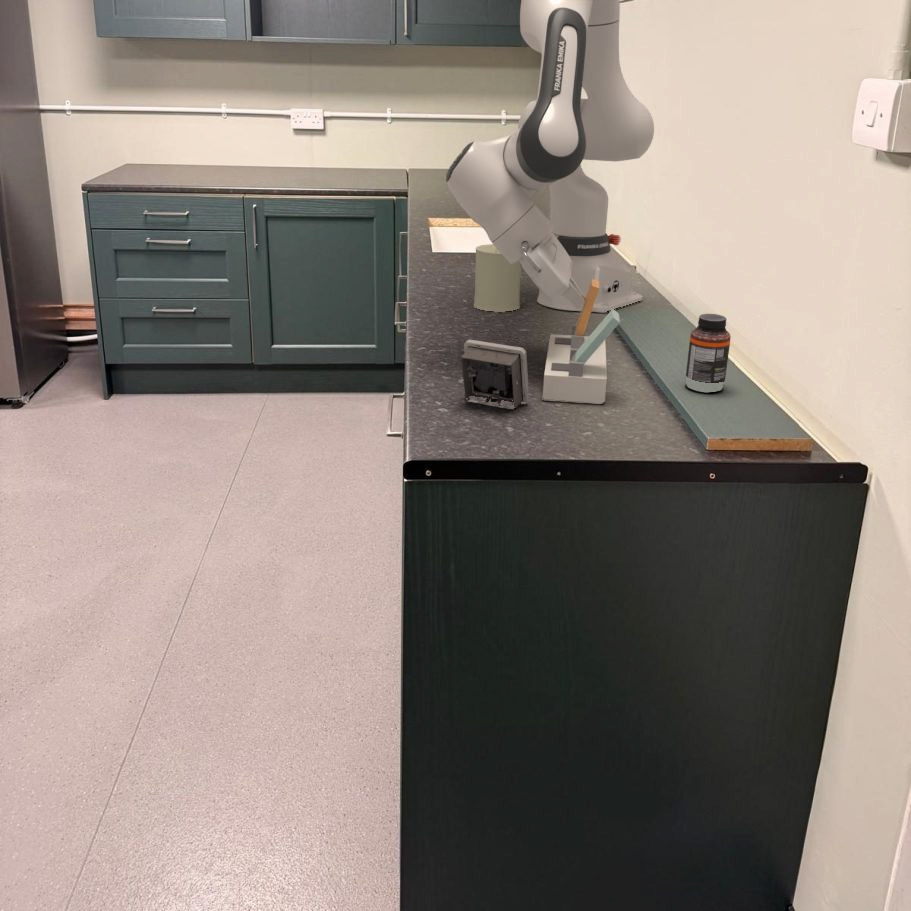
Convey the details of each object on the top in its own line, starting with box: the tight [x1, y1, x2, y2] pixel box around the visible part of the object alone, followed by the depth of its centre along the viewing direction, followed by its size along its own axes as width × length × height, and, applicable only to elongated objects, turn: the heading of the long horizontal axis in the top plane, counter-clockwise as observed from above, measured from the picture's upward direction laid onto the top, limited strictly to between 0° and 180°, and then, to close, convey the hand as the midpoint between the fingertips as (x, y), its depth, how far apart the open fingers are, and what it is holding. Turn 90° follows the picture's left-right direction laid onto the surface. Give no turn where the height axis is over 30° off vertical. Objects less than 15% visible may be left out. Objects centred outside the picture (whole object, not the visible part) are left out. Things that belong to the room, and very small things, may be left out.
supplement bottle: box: [685, 313, 731, 383], centre depth 147 cm, size 6×6×11 cm
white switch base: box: [542, 323, 608, 402], centre depth 153 cm, size 9×28×6 cm, turn 172°
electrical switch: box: [460, 339, 530, 408], centre depth 138 cm, size 9×5×9 cm, turn 65°
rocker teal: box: [572, 309, 621, 365], centre depth 141 cm, size 1×5×10 cm
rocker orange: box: [574, 279, 599, 336], centre depth 154 cm, size 1×5×10 cm, turn 173°
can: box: [473, 243, 522, 313], centre depth 190 cm, size 9×9×12 cm
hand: (582, 304), depth 153 cm, fingers closed, pressing on rocker orange
